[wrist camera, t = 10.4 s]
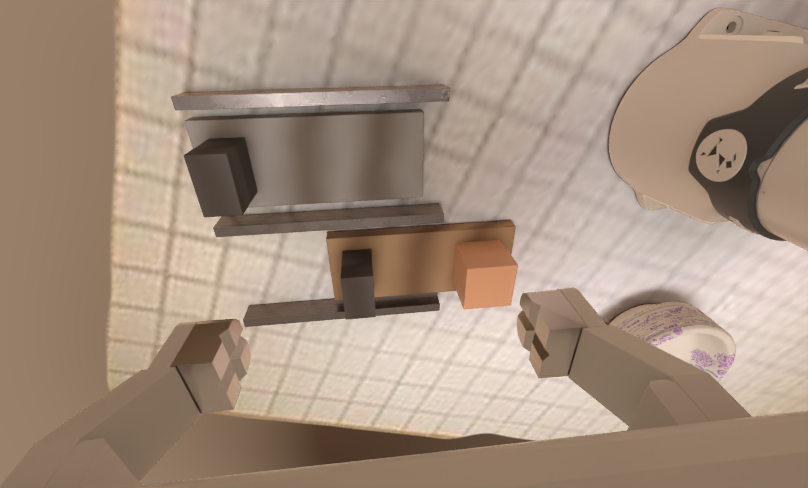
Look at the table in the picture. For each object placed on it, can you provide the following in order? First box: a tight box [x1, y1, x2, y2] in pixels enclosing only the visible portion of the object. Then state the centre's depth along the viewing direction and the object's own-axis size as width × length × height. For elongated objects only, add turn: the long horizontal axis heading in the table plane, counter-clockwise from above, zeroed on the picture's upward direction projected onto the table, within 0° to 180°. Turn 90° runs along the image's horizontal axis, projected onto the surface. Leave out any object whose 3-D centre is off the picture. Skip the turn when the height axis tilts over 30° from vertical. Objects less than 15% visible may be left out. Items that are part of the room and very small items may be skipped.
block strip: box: [326, 220, 516, 319], centre depth 38 cm, size 20×8×6 cm, turn 91°
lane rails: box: [171, 85, 450, 327], centre depth 36 cm, size 22×24×2 cm
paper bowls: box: [609, 301, 736, 382], centre depth 48 cm, size 15×15×8 cm
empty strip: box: [184, 109, 424, 217], centre depth 31 cm, size 20×8×6 cm, turn 91°
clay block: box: [453, 240, 518, 309], centre depth 38 cm, size 5×5×5 cm
